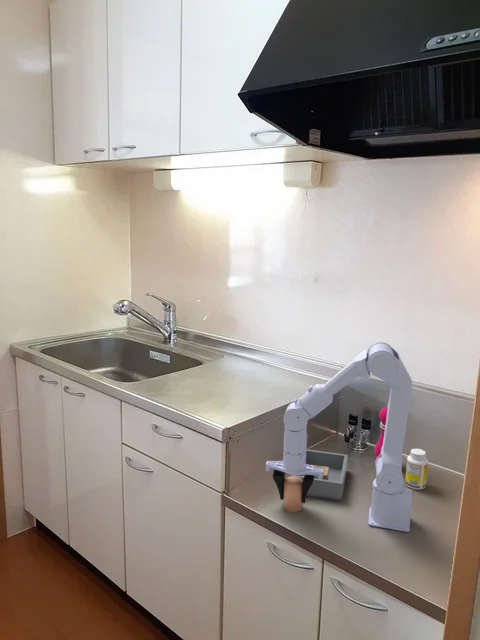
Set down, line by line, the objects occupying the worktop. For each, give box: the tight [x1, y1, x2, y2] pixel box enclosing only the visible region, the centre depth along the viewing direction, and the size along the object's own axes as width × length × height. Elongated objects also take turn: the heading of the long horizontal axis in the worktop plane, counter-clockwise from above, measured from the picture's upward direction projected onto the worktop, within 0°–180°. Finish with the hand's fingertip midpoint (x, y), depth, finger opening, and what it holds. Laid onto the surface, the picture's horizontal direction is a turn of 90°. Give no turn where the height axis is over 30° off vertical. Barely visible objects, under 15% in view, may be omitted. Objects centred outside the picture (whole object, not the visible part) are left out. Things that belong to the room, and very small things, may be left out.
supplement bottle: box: [404, 448, 429, 491], centre depth 140 cm, size 6×6×10 cm
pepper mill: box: [374, 404, 388, 462], centre depth 151 cm, size 7×7×20 cm
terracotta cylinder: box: [282, 476, 304, 513], centre depth 129 cm, size 5×5×7 cm
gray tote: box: [290, 448, 348, 502], centre depth 142 cm, size 14×18×5 cm
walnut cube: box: [311, 465, 329, 480], centre depth 138 cm, size 5×5×5 cm
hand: (293, 499), depth 129 cm, fingers closed on terracotta cylinder, 5 cm apart
